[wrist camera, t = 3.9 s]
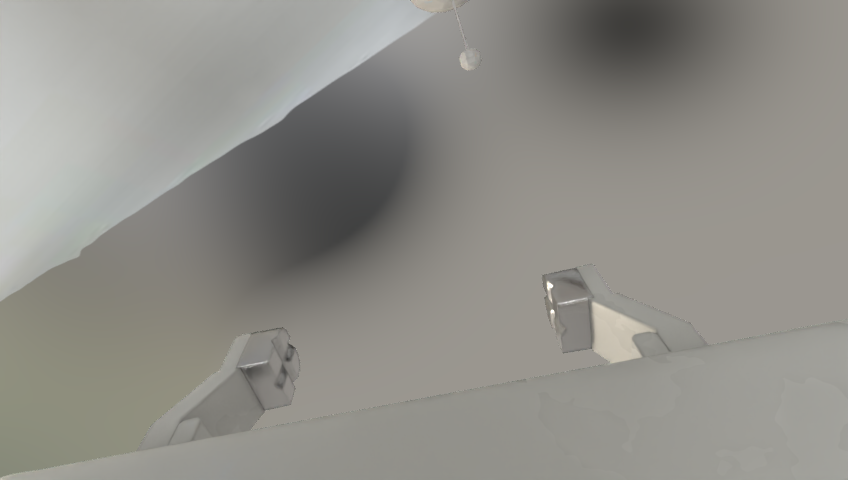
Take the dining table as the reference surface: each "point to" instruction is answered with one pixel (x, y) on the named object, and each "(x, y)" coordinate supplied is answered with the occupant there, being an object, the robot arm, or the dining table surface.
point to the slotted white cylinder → (469, 58)
